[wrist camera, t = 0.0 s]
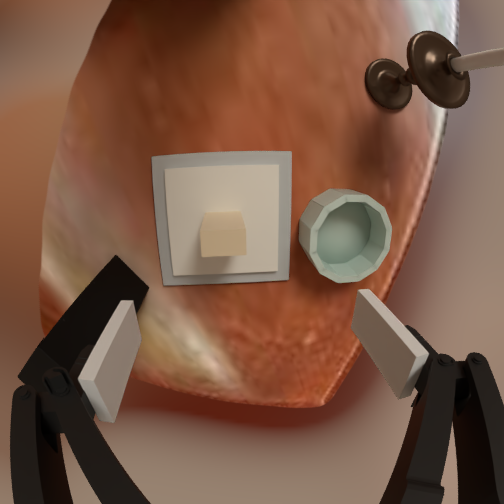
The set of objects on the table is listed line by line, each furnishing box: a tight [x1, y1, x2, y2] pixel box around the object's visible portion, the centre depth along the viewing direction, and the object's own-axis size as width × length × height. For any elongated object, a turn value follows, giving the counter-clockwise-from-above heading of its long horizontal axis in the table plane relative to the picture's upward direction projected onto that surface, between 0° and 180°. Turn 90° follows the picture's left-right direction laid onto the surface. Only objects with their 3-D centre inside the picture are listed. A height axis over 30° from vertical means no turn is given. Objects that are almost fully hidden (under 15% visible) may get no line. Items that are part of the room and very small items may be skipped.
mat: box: [152, 151, 292, 285], centre depth 42 cm, size 20×20×1 cm
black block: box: [18, 255, 149, 393], centre depth 31 cm, size 8×8×28 cm
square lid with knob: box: [165, 165, 279, 276], centre depth 37 cm, size 16×16×11 cm
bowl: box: [299, 189, 392, 283], centre depth 42 cm, size 13×13×6 cm
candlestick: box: [365, 31, 504, 109], centre depth 21 cm, size 11×11×35 cm
